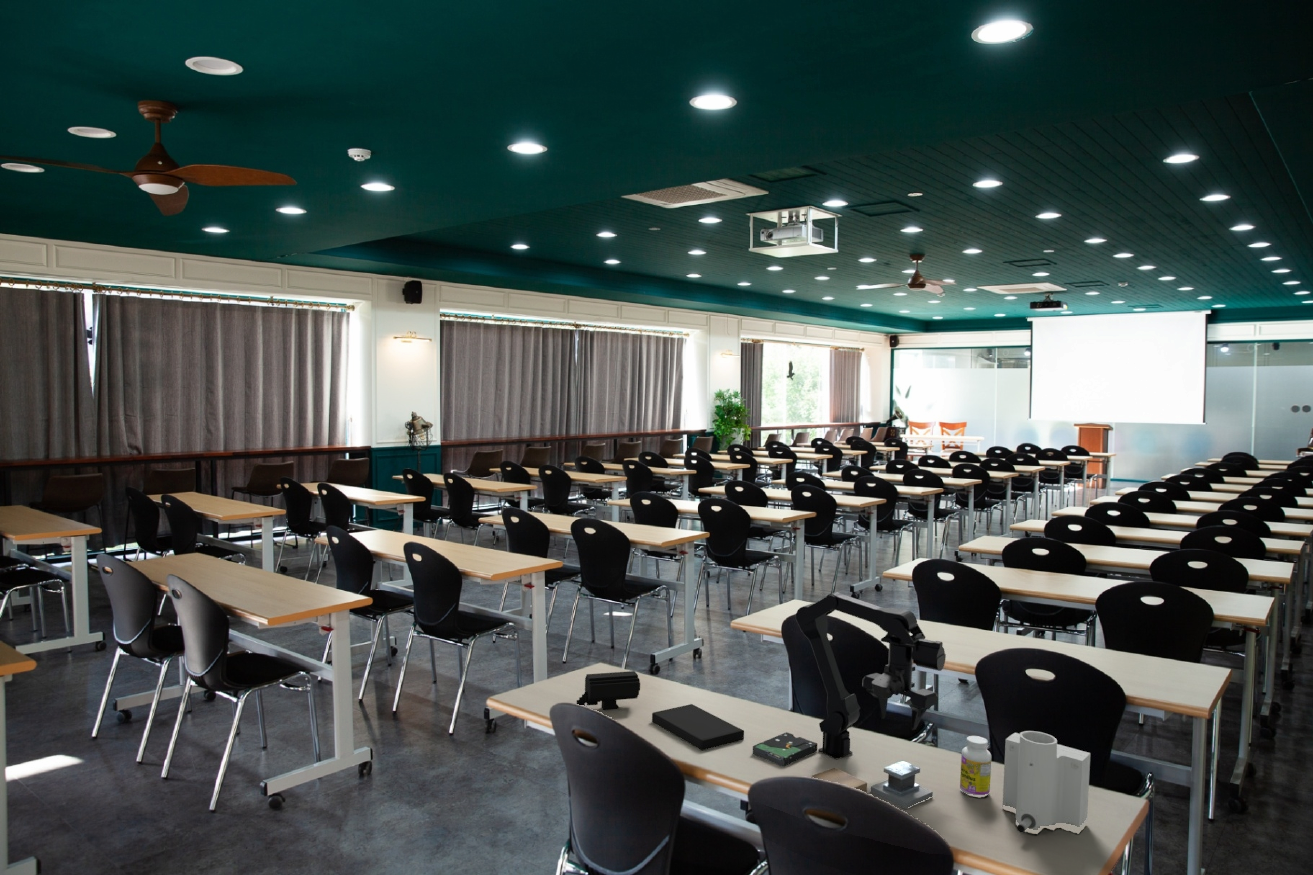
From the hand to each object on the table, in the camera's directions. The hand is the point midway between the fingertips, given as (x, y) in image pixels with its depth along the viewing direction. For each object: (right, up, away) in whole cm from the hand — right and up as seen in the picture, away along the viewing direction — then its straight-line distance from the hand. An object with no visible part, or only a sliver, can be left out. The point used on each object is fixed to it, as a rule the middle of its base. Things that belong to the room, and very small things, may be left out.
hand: (897, 724), depth 212 cm
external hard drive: (-49, -10, +23) cm, 55 cm away
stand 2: (-3, -12, -13) cm, 18 cm away
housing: (-3, -11, -13) cm, 17 cm away
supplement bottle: (+15, -13, -10) cm, 23 cm away
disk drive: (-27, -12, +10) cm, 31 cm away
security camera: (-74, -9, +38) cm, 84 cm away
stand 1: (-17, -12, -10) cm, 23 cm away
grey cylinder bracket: (+23, -14, -26) cm, 37 cm away
